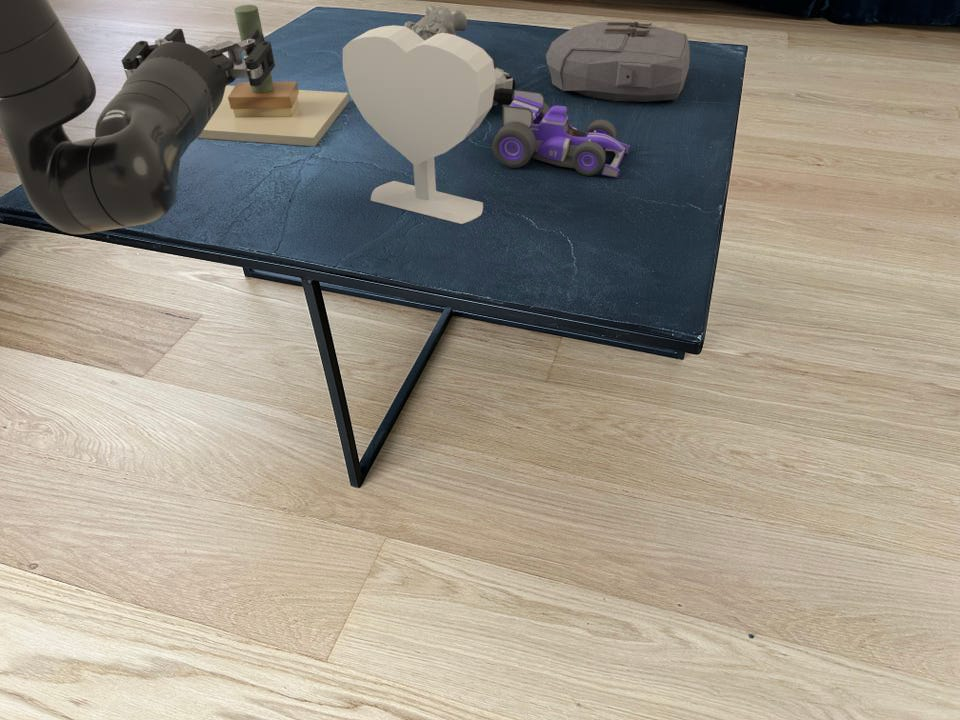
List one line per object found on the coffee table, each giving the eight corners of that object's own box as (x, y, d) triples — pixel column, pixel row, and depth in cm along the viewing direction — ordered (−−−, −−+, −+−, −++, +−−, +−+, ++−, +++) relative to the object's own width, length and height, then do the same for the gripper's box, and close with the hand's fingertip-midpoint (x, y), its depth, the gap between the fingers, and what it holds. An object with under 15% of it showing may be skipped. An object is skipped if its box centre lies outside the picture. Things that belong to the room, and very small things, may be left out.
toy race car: (615, 184, 86) (621, 130, 82) (491, 165, 90) (491, 113, 86) (631, 148, 93) (638, 96, 88) (515, 132, 97) (516, 81, 92)
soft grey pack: (687, 71, 111) (553, 60, 115) (697, 11, 105) (556, 2, 109) (682, 113, 100) (535, 100, 104) (693, 49, 94) (537, 38, 98)
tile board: (168, 135, 97) (165, 127, 96) (215, 92, 107) (213, 84, 107) (315, 146, 94) (313, 137, 94) (349, 101, 105) (348, 92, 104)
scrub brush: (232, 118, 98) (207, 15, 90) (242, 102, 102) (218, 2, 93) (293, 117, 98) (274, 14, 89) (300, 101, 102) (282, 1, 93)
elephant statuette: (395, 73, 112) (390, 19, 107) (422, 46, 120) (419, -6, 115) (454, 80, 110) (452, 25, 104) (477, 51, 118) (477, -1, 113)
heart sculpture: (498, 206, 83) (499, 38, 71) (478, 228, 80) (475, 56, 68) (379, 177, 88) (361, 16, 76) (355, 196, 85) (332, 31, 73)
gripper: (237, 58, 68) (276, 1, 80) (83, 58, 69) (145, 1, 81) (254, 135, 74) (289, 71, 86) (110, 135, 74) (165, 71, 86)
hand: (219, 37), depth 83 cm, fingers open, 8 cm apart
